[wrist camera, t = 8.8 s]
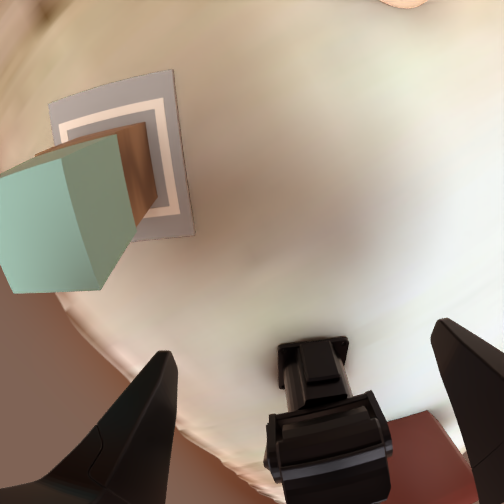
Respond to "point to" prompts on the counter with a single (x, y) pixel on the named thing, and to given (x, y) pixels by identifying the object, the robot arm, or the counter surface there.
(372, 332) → the counter surface
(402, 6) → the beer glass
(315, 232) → the counter surface
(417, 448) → the bucket
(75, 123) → the mat
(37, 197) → the teal block
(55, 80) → the counter surface
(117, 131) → the walnut block
